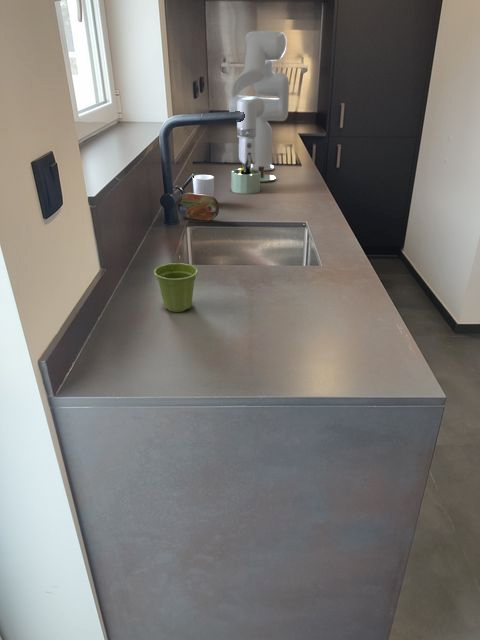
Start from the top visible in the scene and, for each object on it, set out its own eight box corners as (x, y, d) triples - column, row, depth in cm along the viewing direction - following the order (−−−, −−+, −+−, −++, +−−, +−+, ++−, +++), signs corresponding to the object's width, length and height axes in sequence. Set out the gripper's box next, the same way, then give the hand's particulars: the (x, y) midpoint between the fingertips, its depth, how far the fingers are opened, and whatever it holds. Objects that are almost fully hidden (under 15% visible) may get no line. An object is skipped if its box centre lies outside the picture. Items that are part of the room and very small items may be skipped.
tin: (177, 216, 172) (175, 192, 168) (181, 214, 175) (180, 190, 171) (216, 222, 168) (216, 197, 164) (220, 220, 171) (220, 195, 166)
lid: (243, 176, 230) (243, 164, 227) (270, 176, 234) (270, 163, 231) (250, 183, 220) (251, 169, 217) (278, 182, 223) (279, 169, 220)
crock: (228, 187, 212) (228, 169, 208) (255, 186, 215) (256, 168, 211) (234, 194, 202) (235, 175, 198) (263, 193, 205) (263, 174, 201)
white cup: (218, 203, 189) (217, 176, 184) (207, 208, 183) (207, 180, 178) (200, 200, 192) (199, 173, 187) (189, 205, 186) (188, 177, 181)
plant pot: (159, 297, 116) (156, 262, 112) (199, 297, 117) (198, 262, 113) (155, 316, 108) (151, 279, 104) (198, 315, 109) (197, 279, 105)
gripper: (261, 136, 191) (259, 185, 201) (250, 130, 204) (249, 176, 214) (242, 136, 189) (241, 185, 199) (232, 130, 203) (232, 176, 212)
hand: (245, 180), depth 206 cm, fingers closed
